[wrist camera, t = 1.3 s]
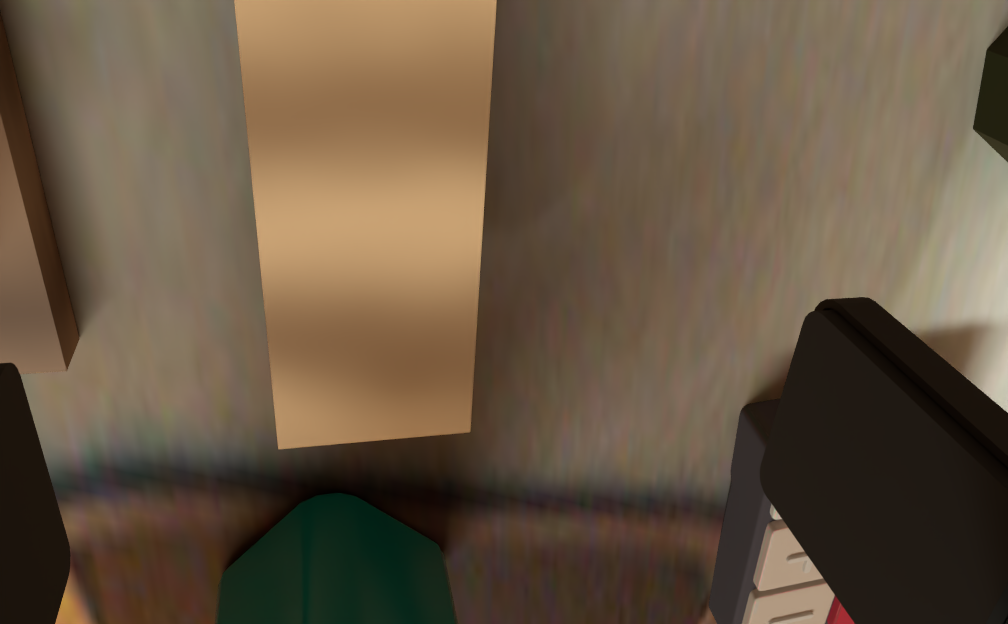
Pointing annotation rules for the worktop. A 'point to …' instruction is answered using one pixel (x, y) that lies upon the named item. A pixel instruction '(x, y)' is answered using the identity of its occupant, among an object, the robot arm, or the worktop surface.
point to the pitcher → (337, 570)
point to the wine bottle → (994, 97)
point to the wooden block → (368, 209)
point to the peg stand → (28, 247)
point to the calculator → (764, 546)
